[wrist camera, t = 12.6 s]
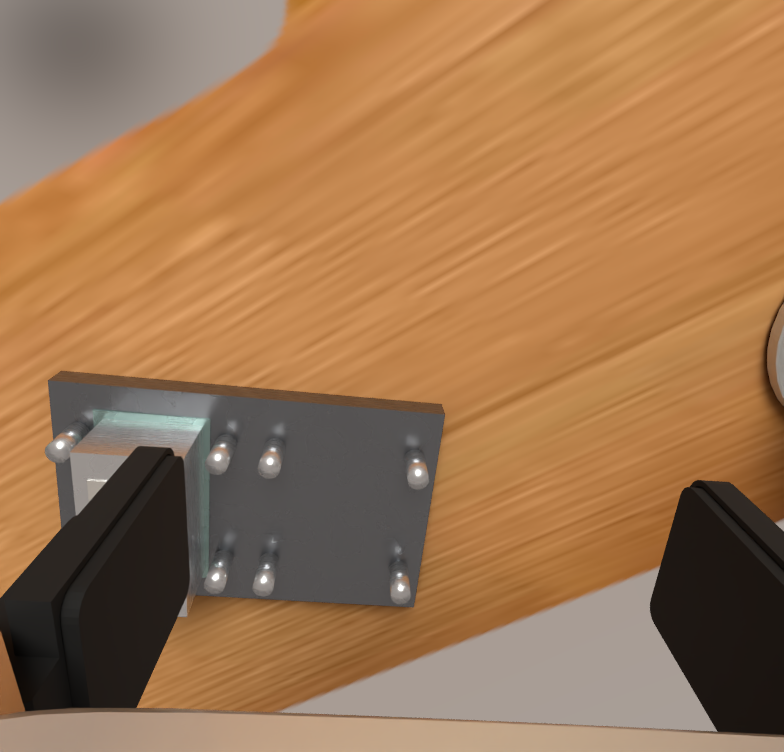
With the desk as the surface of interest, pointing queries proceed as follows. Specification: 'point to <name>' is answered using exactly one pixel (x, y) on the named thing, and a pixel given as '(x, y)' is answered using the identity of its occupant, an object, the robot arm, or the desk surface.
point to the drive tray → (283, 482)
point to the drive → (113, 447)
